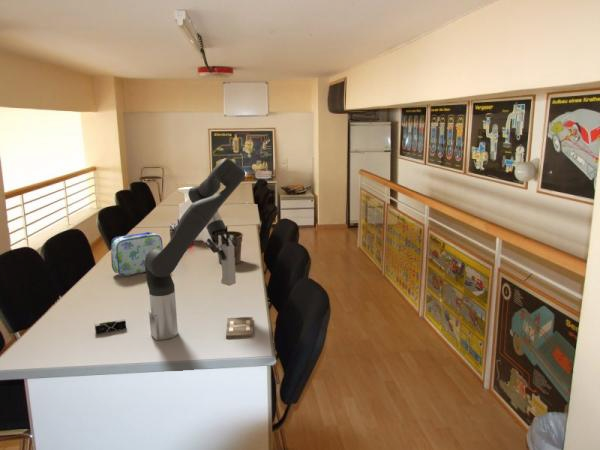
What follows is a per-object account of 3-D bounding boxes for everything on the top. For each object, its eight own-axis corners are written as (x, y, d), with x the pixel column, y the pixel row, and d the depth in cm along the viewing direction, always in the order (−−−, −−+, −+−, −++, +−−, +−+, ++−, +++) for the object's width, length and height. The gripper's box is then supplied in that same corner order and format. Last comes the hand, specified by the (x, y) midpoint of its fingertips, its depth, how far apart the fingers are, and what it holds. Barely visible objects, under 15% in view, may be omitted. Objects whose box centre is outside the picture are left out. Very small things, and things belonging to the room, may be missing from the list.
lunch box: (157, 264, 276) (154, 227, 271) (166, 268, 268) (163, 231, 263) (111, 274, 259) (107, 235, 254) (119, 279, 251) (115, 239, 246)
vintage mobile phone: (227, 281, 209) (224, 224, 203) (235, 283, 206) (233, 225, 200) (221, 283, 207) (218, 225, 201) (229, 286, 204) (226, 227, 198)
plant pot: (242, 266, 270) (241, 238, 266) (212, 266, 270) (211, 238, 266) (245, 257, 285) (244, 230, 282) (218, 258, 286) (216, 231, 282)
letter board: (252, 336, 185) (252, 333, 184) (226, 338, 184) (225, 335, 183) (252, 319, 200) (252, 316, 200) (227, 320, 199) (227, 318, 199)
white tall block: (211, 243, 319) (180, 242, 322) (217, 238, 330) (187, 237, 333) (208, 189, 311) (177, 189, 314) (214, 187, 322) (184, 186, 325)
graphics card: (94, 336, 188) (93, 325, 186) (94, 331, 190) (92, 321, 188) (126, 330, 193) (125, 320, 191) (125, 326, 195) (124, 316, 193)
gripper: (226, 226, 216) (241, 259, 209) (196, 231, 207) (211, 266, 201) (232, 217, 210) (247, 250, 204) (201, 221, 202) (217, 256, 195)
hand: (229, 258), depth 202 cm, fingers closed on vintage mobile phone, 4 cm apart
